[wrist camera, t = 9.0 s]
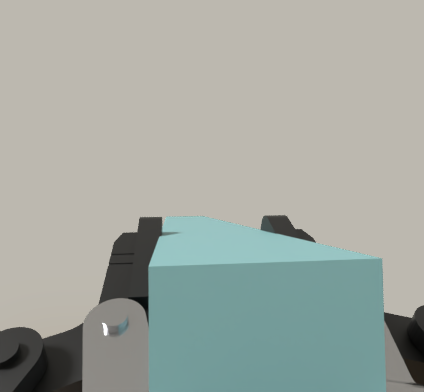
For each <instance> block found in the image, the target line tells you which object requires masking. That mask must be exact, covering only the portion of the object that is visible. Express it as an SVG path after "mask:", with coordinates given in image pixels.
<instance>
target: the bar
mask: <svg viewBox="0 0 424 392" xmlns="http://www.w3.org/2000/svg"><path fill="white" fill-rule="evenodd" d="M148 271H149V392H386V368H385V336H384V305H383V304H384V303H383V271H382V259H381V258H378V257H374V256H370V255H365V254H361V253H357V252H353V251H348V250H344V249H340V248H335V247H332V246H327V245H323V244H319V243H315V242H310V241H306V240H302V239H298V238H293V237H289V236H285V235H281V234H275V233H270V232H266V231H262V230H259V229H255V228H251V227H247V226H243V225H238V224H234V223H230V222H225V221H221V220H217V219H213V218H209V217H204V216H189V217H188V216H183V217H166V219H165V222H164V225H163V228H162V235H161V236H159V239H158V242H157V244H156V247H155V250H154V253H153V255H152V258H151V261H150V264H149V267H148Z"/></svg>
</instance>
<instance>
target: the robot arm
mask: <svg viewBox="0 0 424 392" xmlns="http://www.w3.org/2000/svg"><path fill="white" fill-rule="evenodd" d="M261 230H262V231H266V232H270V233H275V234H281V235H285V236H289V237H293V238H298V239H302V240H306V241H310V242H315V240H314V239H313V238H312V237H311V236H310V235H308V234H307V233H306V232H304V231H303V230H302V229H295V228H294V227H293V225H292V224H291V222H290V221H289V219H288V217H287V216H285V215H282V216H281V215H278V216H264V217H263V219H262V224H261ZM161 235H162V217H140V219H139V226H138V232H136V233H123V234H122V235H121V236H120V237H119V238H118V239H117V240H116V241H115V242H114V245H113V249H112V253H111V257H110V261H109V266H108V269H107V273H106V277H105V281H104V285H103V289H102V294H101V297H100V301H99V304H98V305H97V306H96V307H95V308H93V309H92V310H91V311H90V312H89V314H88V315H87V316H86V318H85V320H84V323H82V324H81V325H79V326H77V327H75V328H73V329H71V330H68V331H66V332H63V333H60V334H57V335H53V336H50V337H47V338H44V339H42V338H41V336H40V334H39V333H38V332H36V331H35V330H33V329H30V328H25V327H17V328H10V329H6V330H4V331H0V392H149V271H148V267H149V264H150V261H151V258H152V255H153V253H154V250H155V247H156V244H157V242H158V239H159V236H161ZM315 243H316V242H315ZM384 336H385V368H386V392H424V306H421V307H419V308H417V310H416V311H415V313H414V315H413V317H412V318H409V317H404V316H399V315H394V314H389V313H385V312H384Z"/></svg>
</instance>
